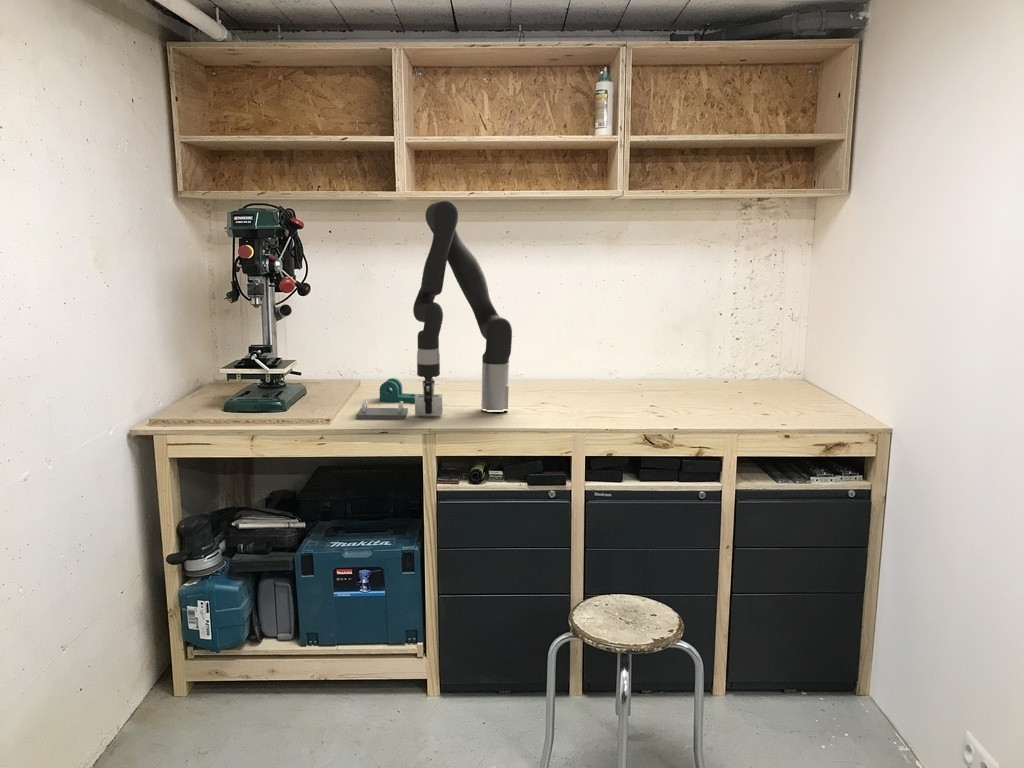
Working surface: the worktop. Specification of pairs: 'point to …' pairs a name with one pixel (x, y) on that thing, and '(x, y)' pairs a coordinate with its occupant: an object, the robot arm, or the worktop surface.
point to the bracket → (394, 392)
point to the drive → (436, 404)
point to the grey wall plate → (382, 412)
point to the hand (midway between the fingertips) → (428, 411)
